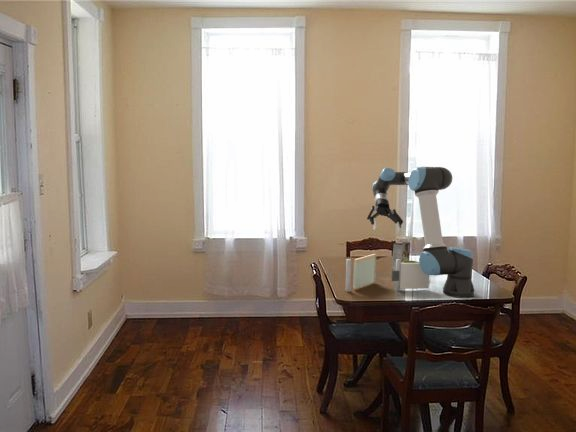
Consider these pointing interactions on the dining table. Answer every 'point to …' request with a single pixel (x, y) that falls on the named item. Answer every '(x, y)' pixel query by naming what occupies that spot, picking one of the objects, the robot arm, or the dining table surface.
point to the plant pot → (409, 261)
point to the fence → (400, 276)
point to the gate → (364, 271)
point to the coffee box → (400, 252)
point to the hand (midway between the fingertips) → (387, 230)
